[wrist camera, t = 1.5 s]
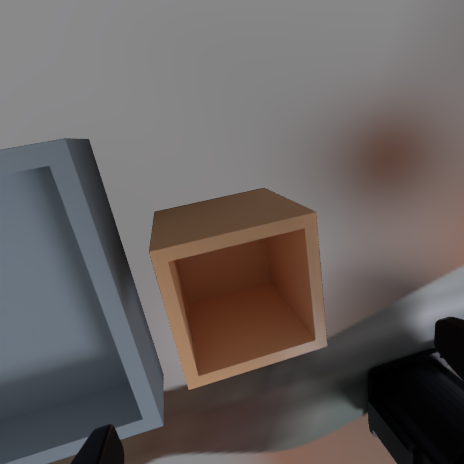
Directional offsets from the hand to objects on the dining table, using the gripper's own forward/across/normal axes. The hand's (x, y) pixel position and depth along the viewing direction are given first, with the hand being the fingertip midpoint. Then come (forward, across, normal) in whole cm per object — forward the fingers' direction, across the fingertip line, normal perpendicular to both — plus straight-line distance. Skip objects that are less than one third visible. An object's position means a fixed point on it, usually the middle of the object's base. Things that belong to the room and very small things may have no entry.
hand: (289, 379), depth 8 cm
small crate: (+10, 0, 0) cm, 10 cm away
